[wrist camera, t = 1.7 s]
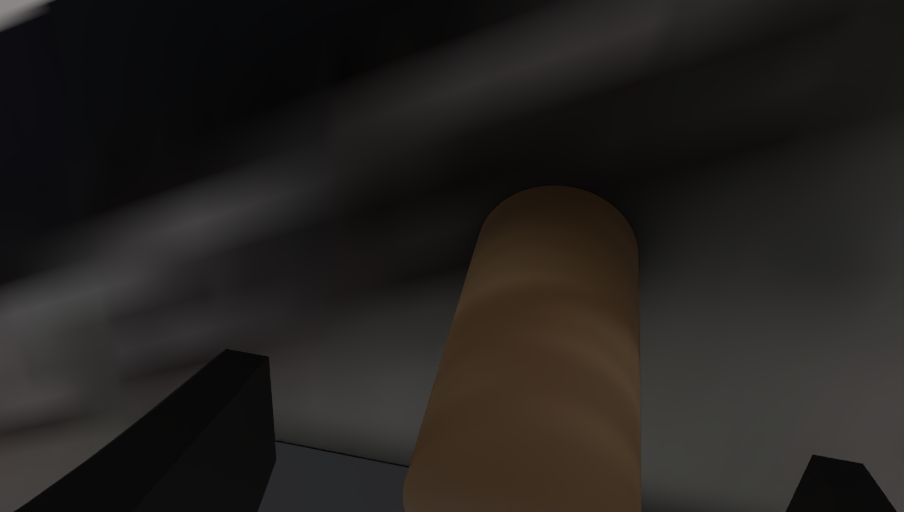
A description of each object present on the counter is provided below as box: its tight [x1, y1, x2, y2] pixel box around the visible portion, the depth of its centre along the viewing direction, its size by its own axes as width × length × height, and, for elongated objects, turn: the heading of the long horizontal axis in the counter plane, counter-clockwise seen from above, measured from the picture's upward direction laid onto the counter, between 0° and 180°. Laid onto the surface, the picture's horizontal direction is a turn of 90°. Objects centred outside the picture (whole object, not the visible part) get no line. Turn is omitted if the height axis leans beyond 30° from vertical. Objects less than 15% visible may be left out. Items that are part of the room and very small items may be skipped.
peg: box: [403, 185, 641, 512], centre depth 13 cm, size 3×3×6 cm
